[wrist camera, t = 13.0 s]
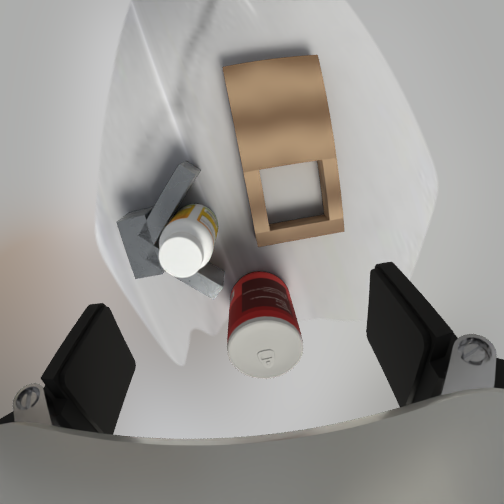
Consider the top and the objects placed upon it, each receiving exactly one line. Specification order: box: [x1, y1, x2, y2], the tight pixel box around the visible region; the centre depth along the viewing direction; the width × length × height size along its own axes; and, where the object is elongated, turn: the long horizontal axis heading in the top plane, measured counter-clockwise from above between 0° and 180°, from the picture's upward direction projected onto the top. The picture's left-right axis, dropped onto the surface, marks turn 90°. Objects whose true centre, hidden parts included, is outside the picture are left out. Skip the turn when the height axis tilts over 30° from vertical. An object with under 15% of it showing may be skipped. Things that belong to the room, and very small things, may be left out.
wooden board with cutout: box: [223, 55, 344, 247], centre depth 30 cm, size 20×10×2 cm, turn 10°
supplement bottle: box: [159, 204, 218, 278], centre depth 30 cm, size 5×5×10 cm
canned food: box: [227, 271, 303, 379], centre depth 33 cm, size 8×8×11 cm
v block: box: [117, 161, 225, 300], centre depth 33 cm, size 10×16×4 cm, turn 10°
